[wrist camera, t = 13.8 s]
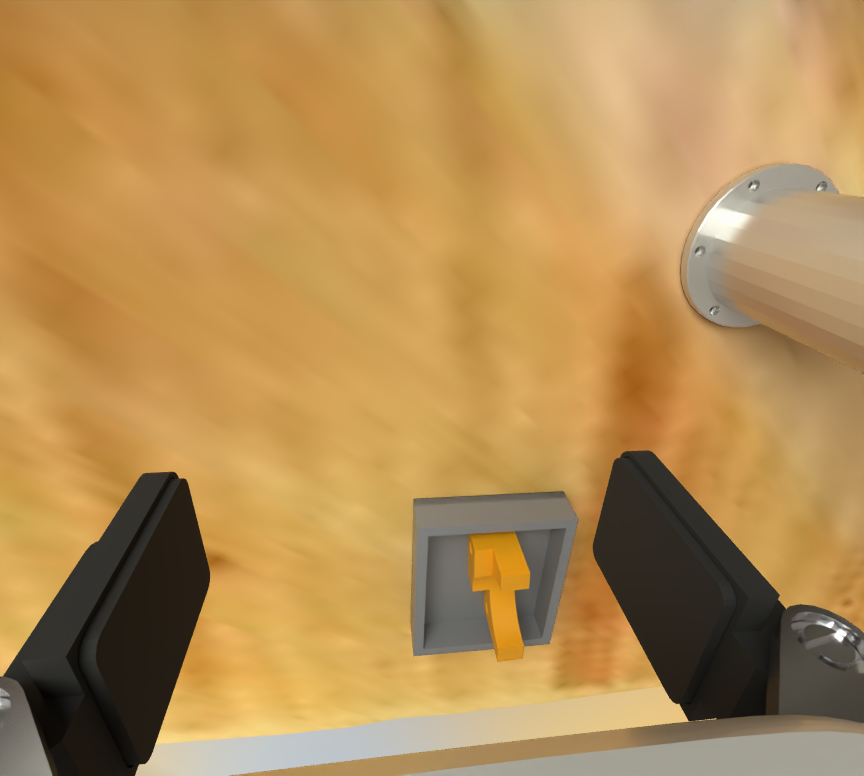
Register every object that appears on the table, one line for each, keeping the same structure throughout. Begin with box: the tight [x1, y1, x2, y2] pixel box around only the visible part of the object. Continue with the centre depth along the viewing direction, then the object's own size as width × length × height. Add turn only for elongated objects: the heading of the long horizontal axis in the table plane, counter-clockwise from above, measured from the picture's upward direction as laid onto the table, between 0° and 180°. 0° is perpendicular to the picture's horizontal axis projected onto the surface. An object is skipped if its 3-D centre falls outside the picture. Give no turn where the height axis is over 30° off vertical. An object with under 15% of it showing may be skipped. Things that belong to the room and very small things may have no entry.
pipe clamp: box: [468, 531, 530, 662], centre depth 49 cm, size 12×4×6 cm, turn 2°
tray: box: [411, 491, 578, 656], centre depth 51 cm, size 15×18×4 cm
